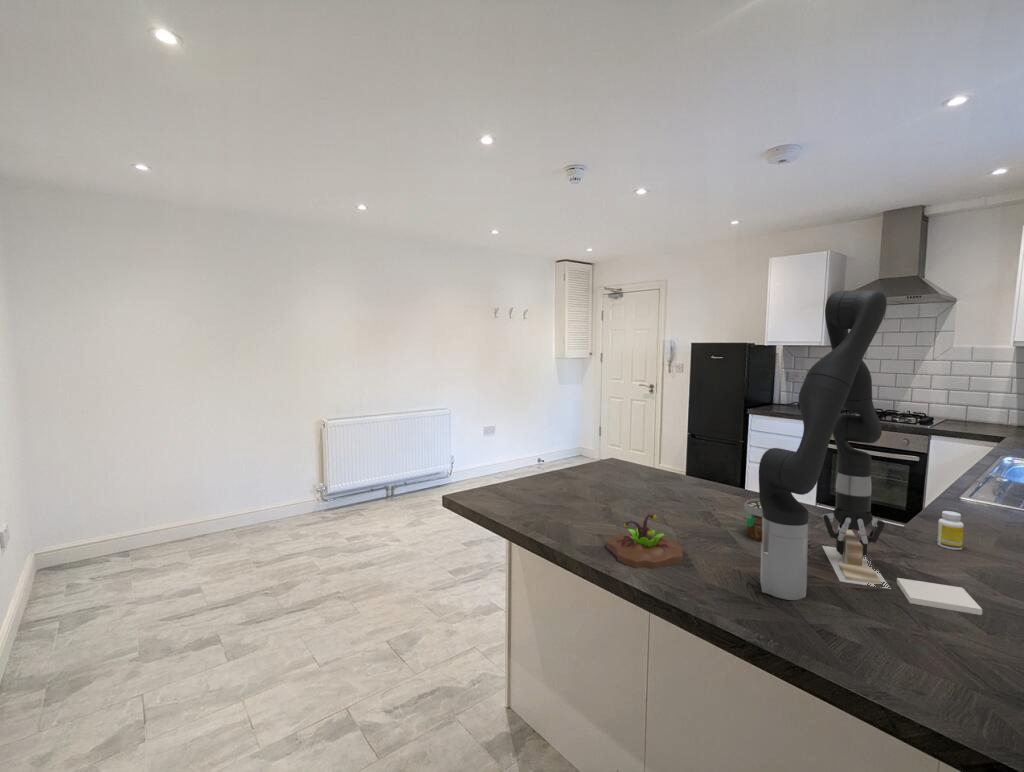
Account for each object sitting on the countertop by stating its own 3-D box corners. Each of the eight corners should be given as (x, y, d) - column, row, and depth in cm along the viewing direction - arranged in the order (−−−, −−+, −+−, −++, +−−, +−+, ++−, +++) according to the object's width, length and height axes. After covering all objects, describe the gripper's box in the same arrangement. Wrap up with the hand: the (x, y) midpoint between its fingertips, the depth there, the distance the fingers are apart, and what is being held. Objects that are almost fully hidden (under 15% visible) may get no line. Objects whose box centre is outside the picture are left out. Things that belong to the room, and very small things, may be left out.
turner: (829, 548, 136) (830, 527, 135) (859, 552, 133) (860, 531, 133) (845, 579, 117) (846, 555, 117) (880, 584, 115) (881, 560, 114)
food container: (748, 526, 154) (749, 495, 154) (770, 531, 150) (771, 499, 150) (738, 538, 145) (738, 505, 144) (760, 543, 141) (761, 509, 140)
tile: (896, 586, 115) (909, 606, 106) (897, 577, 115) (910, 597, 106) (961, 596, 110) (981, 619, 101) (962, 587, 110) (982, 609, 101)
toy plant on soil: (697, 566, 127) (697, 524, 127) (626, 572, 124) (626, 530, 124) (662, 537, 147) (662, 501, 146) (600, 542, 144) (600, 505, 143)
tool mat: (840, 582, 117) (840, 581, 117) (822, 547, 138) (822, 545, 138) (891, 590, 113) (891, 588, 113) (864, 552, 134) (864, 551, 134)
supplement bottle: (967, 551, 134) (969, 516, 133) (945, 549, 135) (947, 515, 134) (953, 543, 139) (955, 510, 138) (932, 542, 140) (934, 509, 139)
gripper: (824, 491, 126) (822, 556, 127) (891, 497, 120) (888, 565, 121) (818, 484, 132) (816, 545, 134) (882, 489, 127) (879, 553, 128)
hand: (851, 554), depth 127 cm, fingers open, 4 cm apart
